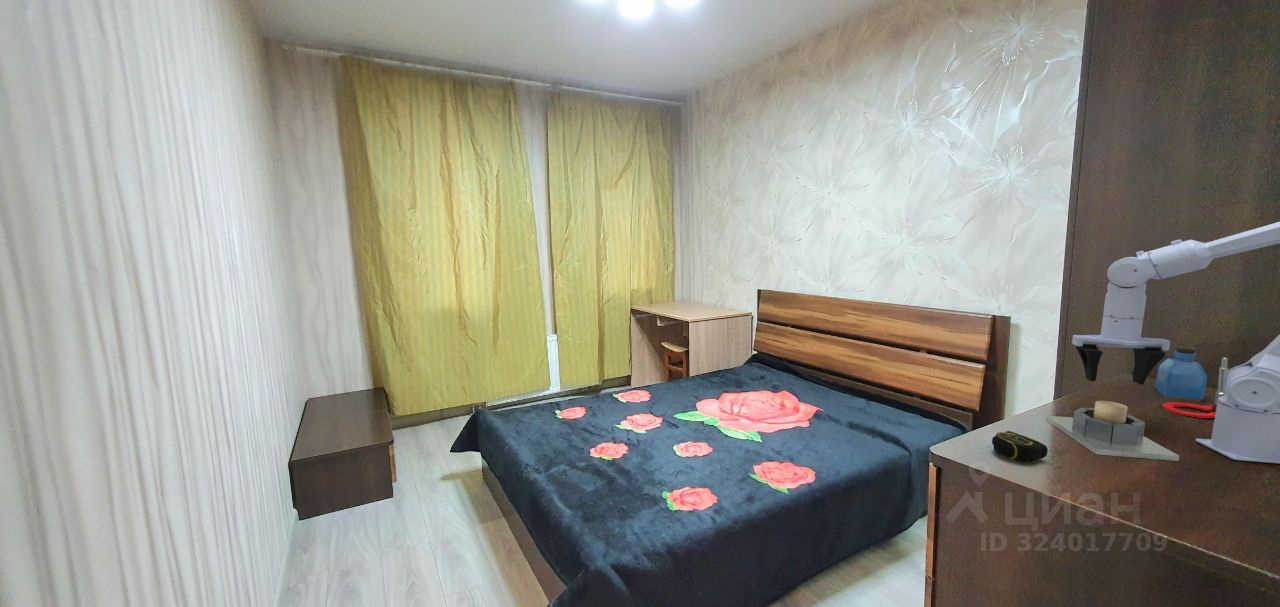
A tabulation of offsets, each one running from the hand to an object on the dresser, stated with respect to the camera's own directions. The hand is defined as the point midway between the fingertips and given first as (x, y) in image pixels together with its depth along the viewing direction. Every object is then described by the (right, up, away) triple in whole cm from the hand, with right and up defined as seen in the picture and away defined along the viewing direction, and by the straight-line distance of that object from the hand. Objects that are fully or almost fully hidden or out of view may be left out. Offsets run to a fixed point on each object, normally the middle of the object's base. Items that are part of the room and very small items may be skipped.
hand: (1114, 381), depth 97 cm
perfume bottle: (+32, -6, +17) cm, 37 cm away
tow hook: (+24, -8, +6) cm, 26 cm away
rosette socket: (-7, -10, -5) cm, 13 cm away
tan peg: (-7, -9, -5) cm, 13 cm away
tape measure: (-29, -12, -10) cm, 33 cm away
